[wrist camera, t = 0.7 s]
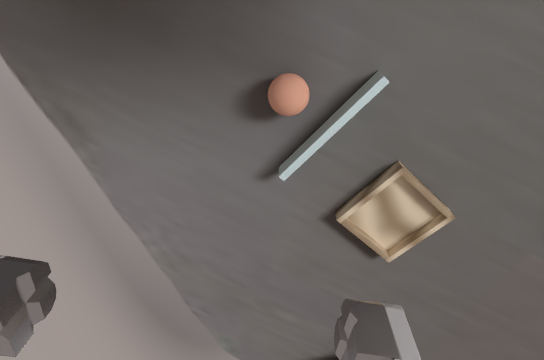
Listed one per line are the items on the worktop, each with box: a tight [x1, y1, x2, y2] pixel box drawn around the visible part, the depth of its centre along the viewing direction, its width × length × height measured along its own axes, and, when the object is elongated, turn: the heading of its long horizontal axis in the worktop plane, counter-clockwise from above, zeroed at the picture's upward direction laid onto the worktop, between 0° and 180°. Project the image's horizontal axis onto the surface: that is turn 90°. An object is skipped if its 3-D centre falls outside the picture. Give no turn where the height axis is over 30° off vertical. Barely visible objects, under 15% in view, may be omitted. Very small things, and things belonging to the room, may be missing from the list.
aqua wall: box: [279, 71, 389, 181], centre depth 43 cm, size 18×1×3 cm, turn 139°
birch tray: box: [335, 161, 455, 262], centre depth 50 cm, size 12×12×2 cm
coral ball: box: [268, 73, 309, 116], centre depth 41 cm, size 5×5×5 cm
